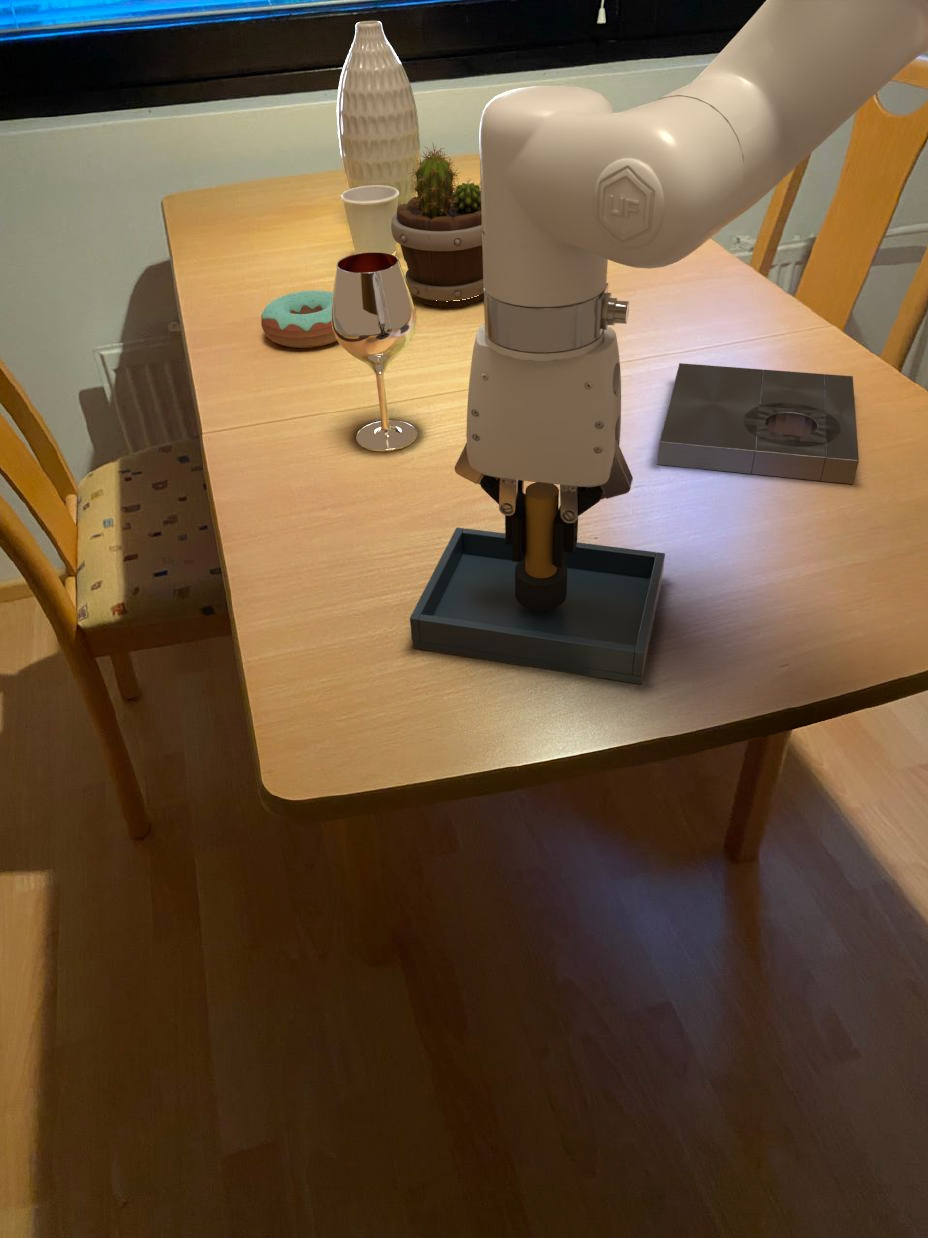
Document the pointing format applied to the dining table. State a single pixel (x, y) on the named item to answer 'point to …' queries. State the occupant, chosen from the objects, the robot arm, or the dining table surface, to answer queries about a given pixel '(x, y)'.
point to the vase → (377, 115)
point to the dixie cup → (371, 217)
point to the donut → (300, 319)
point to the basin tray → (553, 639)
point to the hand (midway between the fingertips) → (541, 552)
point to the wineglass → (375, 331)
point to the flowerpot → (441, 236)
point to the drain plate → (761, 423)
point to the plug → (540, 552)
